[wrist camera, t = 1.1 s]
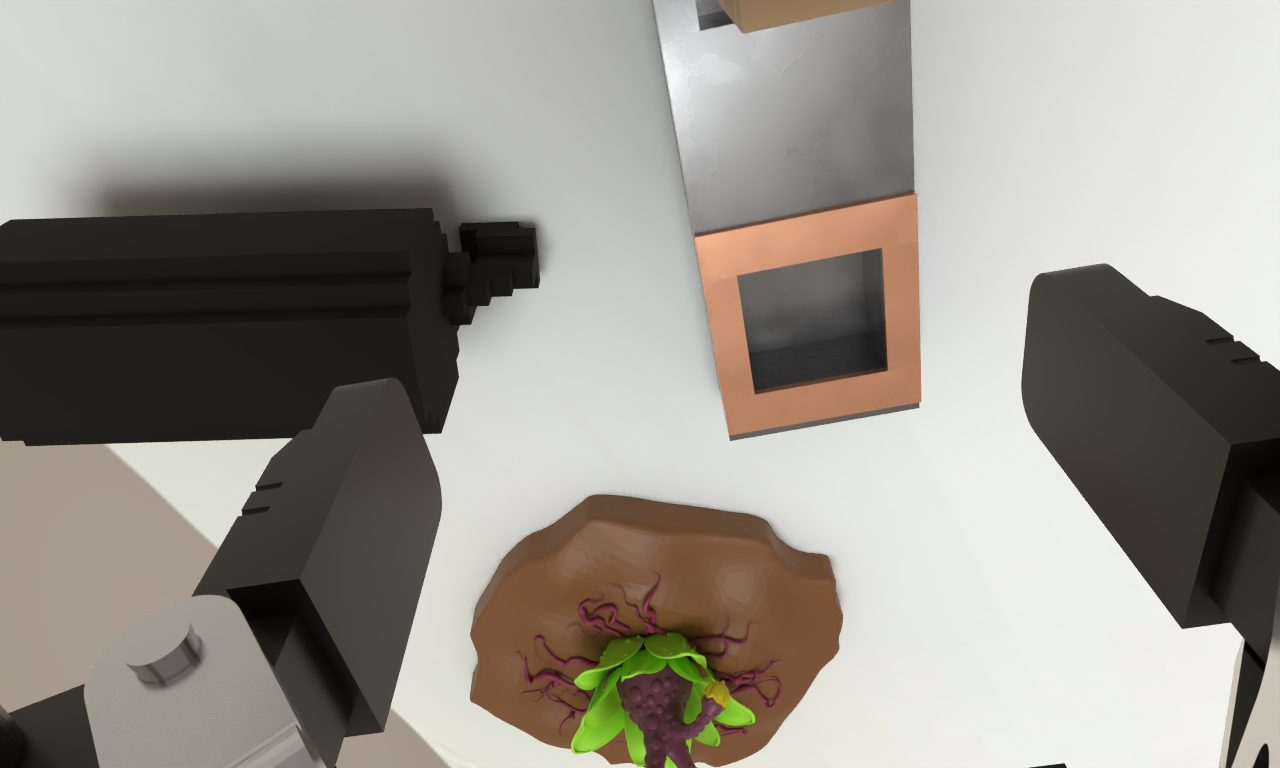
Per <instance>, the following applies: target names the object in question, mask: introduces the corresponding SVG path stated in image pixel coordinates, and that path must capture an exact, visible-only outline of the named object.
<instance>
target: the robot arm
mask: <svg viewBox="0 0 1280 768" xmlns="http://www.w3.org/2000/svg"><path fill="white" fill-rule="evenodd" d="M1233 337H1234V336H1233V335H1231V334H1230V333H1229V332H1227V331H1226V330H1225V329H1223V328H1222V327H1221V326H1219V325H1218V324H1217V323H1215V322H1214V321H1213V320H1211V319H1210V318H1209V317H1207V316H1206V315H1205V314H1203V313H1202V312H1199V311H1197V310H1194V309H1192V308H1189V307H1186V306H1184V305H1181V304H1179V303H1176V302H1173V301H1171V300H1168V299H1166V298H1163V297H1160V296H1158V295H1157V296H1151V297H1150V296H1148V295H1147V294H1146V293H1145V292H1143V291H1142V290H1141V289H1140V288H1138V287H1137V286H1136V285H1135V284H1133V283H1132V282H1131V281H1130V280H1128V279H1127V278H1126V277H1125V276H1123V275H1122V274H1121V273H1120V272H1118V271H1117V270H1116V269H1115V268H1113V267H1112V266H1110V265H1108V264H1096V265H1090V266H1084V267H1078V268H1072V269H1066V270H1059V271H1053V272H1047V273H1041V274H1039V275H1038V276H1037V277H1036V278H1035V279H1034V281H1033V283H1032V285H1031V289H1030V295H1029V305H1028V316H1027V327H1026V338H1025V348H1024V359H1023V370H1022V382H1021V388H1022V399H1023V404H1024V408H1025V412H1026V415H1027V418H1028V420H1029V423H1030V425H1031V427H1032V429H1033V430H1034V432H1035V433H1036V434H1037V436H1038V437H1039V438H1040V440H1041V441H1042V442H1043V444H1044V445H1045V446H1046V448H1047V449H1048V450H1049V452H1050V453H1051V454H1052V456H1053V457H1054V458H1055V460H1056V461H1057V462H1058V464H1059V465H1060V466H1061V468H1062V469H1063V470H1064V472H1065V473H1066V474H1067V476H1068V477H1069V478H1070V480H1071V481H1072V482H1073V484H1074V485H1075V487H1076V488H1077V489H1078V491H1079V492H1080V493H1081V495H1082V496H1083V497H1084V499H1085V500H1086V501H1087V503H1088V504H1089V505H1090V507H1091V508H1092V509H1093V511H1094V512H1095V513H1096V515H1097V516H1098V517H1099V519H1100V520H1101V521H1102V523H1103V524H1104V525H1105V527H1106V528H1107V529H1108V531H1109V532H1110V533H1111V535H1112V536H1113V537H1114V539H1115V540H1116V541H1117V543H1118V544H1119V545H1120V547H1121V548H1122V549H1123V551H1124V552H1125V553H1126V555H1127V556H1128V557H1129V559H1130V560H1131V561H1132V563H1133V564H1134V565H1135V567H1136V568H1137V569H1138V571H1139V572H1140V573H1141V575H1142V576H1143V577H1144V579H1145V580H1146V581H1147V583H1148V584H1149V585H1150V587H1151V588H1152V589H1153V591H1154V592H1155V593H1156V595H1157V596H1158V597H1159V599H1160V600H1161V601H1162V603H1163V604H1164V606H1165V607H1166V608H1167V610H1168V611H1169V612H1170V614H1171V615H1172V616H1173V618H1174V619H1175V620H1176V622H1177V623H1178V624H1179V626H1180V627H1181V628H1182V629H1185V628H1193V627H1200V626H1208V625H1215V624H1223V623H1230V622H1231V623H1232V624H1233V626H1234V627H1235V628H1236V629H1237V630H1238V632H1239V633H1240V634H1241V635H1242V637H1243V639H1242V642H1241V645H1240V648H1239V651H1238V654H1237V658H1236V661H1235V667H1234V674H1233V680H1232V687H1231V693H1230V699H1229V706H1228V712H1227V718H1226V725H1225V731H1224V737H1223V744H1222V750H1221V757H1220V763H1219V768H1280V371H1279V370H1278V369H1276V368H1275V367H1274V366H1272V365H1271V364H1270V363H1268V362H1267V361H1264V362H1261V361H1260V356H1259V355H1258V354H1257V353H1255V352H1254V351H1253V350H1251V349H1250V348H1249V347H1247V346H1246V345H1245V344H1243V343H1242V342H1241V341H1236V342H1235V341H1234V339H1233ZM255 487H256V492H252V493H251V495H250V496H249V498H248V500H247V502H246V503H245V505H244V507H243V508H242V510H241V511H242V516H238V517H237V519H236V520H235V522H234V524H233V526H232V527H231V529H230V531H229V533H228V534H227V536H226V538H225V539H224V541H223V543H222V545H221V546H220V548H219V550H218V552H217V553H216V555H215V557H214V559H213V560H212V562H211V564H210V566H209V567H208V569H207V571H206V572H205V574H204V576H203V578H202V579H201V581H200V583H199V584H198V586H197V588H196V590H195V591H194V593H193V595H192V596H191V597H188V598H185V599H182V600H178V601H175V602H173V603H170V604H168V605H165V606H163V607H161V608H159V609H157V610H155V611H153V612H151V613H149V614H148V615H146V616H144V617H142V618H141V619H139V620H138V621H136V622H135V623H134V624H132V625H131V626H129V627H128V628H127V629H126V630H124V631H123V632H122V633H121V634H120V635H118V636H117V637H116V638H115V639H114V640H113V641H112V642H111V643H110V644H109V645H108V646H107V647H106V648H105V649H104V651H103V652H102V653H101V654H100V656H99V657H98V658H97V659H96V661H95V663H94V664H93V666H92V668H91V669H90V671H89V674H88V676H87V679H86V681H85V684H83V685H81V686H78V687H75V688H73V689H70V690H68V691H65V692H62V693H60V694H57V695H55V696H52V697H49V698H47V699H44V700H42V701H39V702H37V703H34V704H31V705H29V706H26V707H24V708H21V709H18V710H16V711H13V712H11V713H7V712H6V711H5V710H4V709H3V707H1V705H0V768H338V767H337V765H336V761H337V758H338V755H339V752H340V748H341V745H342V742H343V739H344V737H350V736H358V735H365V734H373V733H380V732H384V728H385V724H386V721H387V717H388V713H389V710H390V706H391V702H392V698H393V695H394V691H395V687H396V683H397V680H398V676H399V672H400V668H401V665H402V661H403V657H404V653H405V650H406V646H407V642H408V638H409V635H410V631H411V627H412V623H413V620H414V616H415V612H416V608H417V604H418V601H419V597H420V593H421V589H422V586H423V582H424V578H425V574H426V571H427V567H428V563H429V559H430V556H431V552H432V548H433V544H434V541H435V537H436V533H437V529H438V526H439V522H440V518H441V510H442V497H441V488H440V482H439V477H438V474H437V471H436V468H435V465H434V463H433V460H432V457H431V455H430V452H429V450H428V447H427V444H426V442H425V439H424V437H423V434H422V431H421V429H420V426H419V424H418V421H417V418H416V416H415V413H414V411H413V408H412V405H411V403H410V400H409V398H408V395H407V393H406V390H405V389H404V387H403V385H402V384H401V382H400V381H399V380H398V379H396V378H387V379H381V380H375V381H369V382H362V383H356V384H350V385H344V386H339V387H336V388H335V389H334V390H333V391H332V393H331V394H330V396H329V398H328V400H327V402H326V404H325V406H324V407H323V409H322V411H321V413H320V415H319V417H318V419H317V420H316V422H315V424H314V426H313V428H312V429H308V430H302V431H301V432H300V433H298V434H297V435H296V436H295V437H294V438H293V439H292V440H291V441H290V442H289V443H287V444H286V445H285V446H284V447H283V448H282V449H281V450H280V451H279V452H278V453H276V454H275V455H274V456H273V457H272V458H271V460H270V462H269V464H268V465H267V467H266V469H265V470H264V472H263V474H262V476H261V477H260V479H259V481H258V483H257V484H256V486H255ZM1031 768H1067V767H1066V765H1065V763H1063V764H1055V765H1047V766H1039V767H1031Z"/></svg>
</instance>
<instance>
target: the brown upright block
mask: <svg viewBox="0 0 1280 768" xmlns="http://www.w3.org/2000/svg"><path fill="white" fill-rule="evenodd" d="M716 1H717V2H718V3H719V5H720V6H721V7H722V9H723V10H724V11H725V12H726V14H727V15H728V16H729V17H730V19H731V20H732V21H733V22H734V24H735V25H736V26H737V27H738V29H739V30H740V31H741V32H742V34H746V33H750V32H755V31H759V30H764V29H769V28H773V27H778V26H783V25H787V24H792V23H796V22H801V21H806V20H810V19H815V18H820V17H824V16H829V15H833V14H838V13H843V12H847V11H852V10H857V9H861V8H866V7H870V6H875V5H880V4H884V3H889V2H894V1H898V0H716Z"/></svg>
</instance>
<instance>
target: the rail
mask: <svg viewBox="0 0 1280 768" xmlns="http://www.w3.org/2000/svg"><path fill="white" fill-rule="evenodd" d="M652 6H653V11H654V17H655V23H656V28H657V34H658V40H659V46H660V51H661V57H662V63H663V68H664V74H665V80H666V85H667V91H668V97H669V103H670V108H671V114H672V120H673V125H674V131H675V137H676V142H677V148H678V154H679V160H680V165H681V171H682V177H683V182H684V188H685V194H686V199H687V205H688V211H689V217H690V222H691V228H692V234H693V239H694V245H695V251H696V257H697V262H698V268H699V274H700V279H701V285H702V291H703V296H704V302H705V308H706V314H707V319H708V325H709V331H710V336H711V342H712V348H713V353H714V359H715V365H716V371H717V376H718V382H719V388H720V393H721V398H722V403H723V408H724V413H725V418H726V423H727V428H728V433H729V438H730V441H733V440H738V439H744V438H750V437H755V436H761V435H767V434H773V433H778V432H784V431H790V430H795V429H801V428H807V427H813V426H818V425H824V424H830V423H835V422H841V421H847V420H853V419H858V418H864V417H870V416H876V415H881V414H887V413H893V412H898V411H904V410H910V409H916V408H919V402H921V360H920V313H919V267H918V220H917V194H916V193H915V191H914V154H913V111H912V68H911V24H910V0H898V1H894V2H889V3H884V4H880V5H875V6H870V7H866V8H861V9H857V10H852V11H847V12H843V13H838V14H833V15H829V16H824V17H820V18H815V19H810V20H806V21H801V22H796V23H792V24H787V25H783V26H778V27H773V28H769V29H764V30H759V31H755V32H750V33H746V34H742V32H741V31H740V30H739V29H738V27H737V26H736V25H735V24H734V22H733V21H732V20H731V19H730V17H729V16H728V15H727V14H726V12H725V11H724V10H723V9H722V7H721V6H720V5H719V3H718V2H717V1H716V0H652Z"/></svg>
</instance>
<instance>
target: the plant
mask: <svg viewBox="0 0 1280 768" xmlns="http://www.w3.org/2000/svg"><path fill="white" fill-rule="evenodd" d="M842 623H843V613H842V610H841V607H840V603H839V600H838V597H837V594H836V580H835V577H834V574H833V571H832V567H831V564H830V561H829V558H828V556H826V555H823V554H815V553H805V552H801V551H798V550H795V549H793V548H791V547H789V546H788V545H786V544H785V543H784V542H782V541H781V540H780V539H779V538H778V537H777V536H776V535H775V533H774V532H773V530H772V529H771V527H770V525H769V524H768V523H767V521H765V520H764V519H762V518H759V517H756V516H753V515H749V514H744V513H735V512H726V511H720V510H714V509H708V508H700V507H692V506H684V505H676V504H668V503H661V502H654V501H649V500H644V499H639V498H632V497H624V496H615V495H593V496H589V497H588V498H586V499H585V500H584V501H583V502H581V503H580V504H579V505H577V506H576V507H575V508H573V509H572V510H571V511H570V512H569V513H568V514H566V515H565V516H564V517H562V518H561V519H560V520H558V521H557V522H555V523H554V524H552V525H550V526H549V527H547V528H545V529H543V530H540V531H537V532H535V533H532V534H530V535H529V536H527V537H525V538H524V539H523V540H522V541H520V542H519V543H518V544H517V545H516V546H515V547H514V548H513V549H512V550H511V551H510V552H509V553H508V554H507V555H506V556H505V557H504V559H503V560H502V561H501V563H500V565H499V567H498V569H497V570H496V572H495V574H494V576H493V578H492V580H491V581H490V583H489V585H488V586H487V588H486V590H485V591H484V593H483V594H482V596H481V598H480V599H479V601H478V603H477V606H476V608H475V613H474V618H473V623H472V628H471V632H470V635H471V639H472V641H473V644H474V646H475V649H476V651H477V655H478V664H477V666H476V668H475V671H474V673H473V678H472V684H471V691H470V700H471V702H473V703H475V704H477V705H479V706H481V707H482V708H484V709H485V710H487V711H488V712H490V713H491V714H493V715H494V716H496V717H497V718H499V719H501V720H503V721H504V722H506V723H508V724H510V725H513V726H515V727H517V728H518V729H520V730H522V731H524V732H526V733H528V734H529V735H531V736H533V737H534V738H536V739H537V740H539V741H541V742H543V743H546V744H548V745H552V746H556V747H560V748H567V749H571V750H572V752H573V753H575V754H581V753H587V752H591V751H593V752H596V753H598V754H600V755H601V756H603V757H604V758H605V759H606V760H607V761H608V762H609V763H610V764H620V763H633V764H635V765H636V766H638V767H642V766H643V767H645V768H697V767H695V765H694V763H696V762H702V763H706V764H708V765H710V766H713V767H720V766H724V765H727V764H730V763H733V762H736V761H739V760H742V759H744V758H746V757H748V756H750V755H752V754H754V753H756V752H758V751H759V750H761V749H762V748H763V747H764V746H766V745H767V743H768V742H769V741H770V740H771V738H772V737H773V736H774V734H775V733H776V732H777V730H778V729H779V727H780V726H781V725H782V723H783V722H784V720H785V719H786V718H787V717H788V715H789V714H790V713H791V712H792V711H793V710H794V708H795V707H796V706H797V705H798V704H799V702H800V701H801V699H802V698H803V697H804V695H805V694H806V692H807V690H808V689H809V687H810V686H811V684H812V682H813V681H814V679H815V677H816V676H817V674H818V673H819V671H820V670H821V669H822V668H823V667H824V666H825V665H826V664H827V663H828V662H829V661H831V660H832V659H833V658H834V656H835V655H836V654H837V652H838V650H839V635H840V632H841V628H842Z"/></svg>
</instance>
